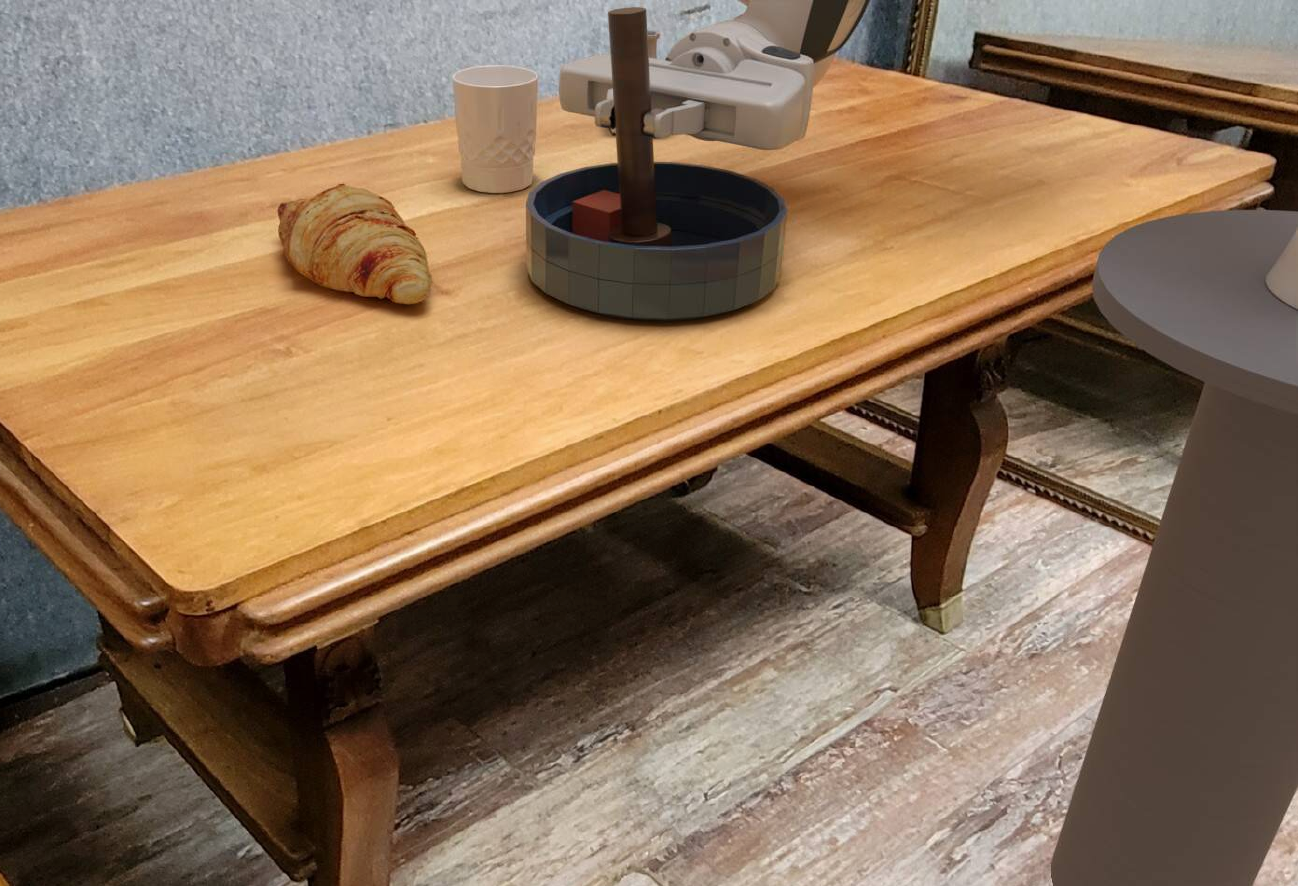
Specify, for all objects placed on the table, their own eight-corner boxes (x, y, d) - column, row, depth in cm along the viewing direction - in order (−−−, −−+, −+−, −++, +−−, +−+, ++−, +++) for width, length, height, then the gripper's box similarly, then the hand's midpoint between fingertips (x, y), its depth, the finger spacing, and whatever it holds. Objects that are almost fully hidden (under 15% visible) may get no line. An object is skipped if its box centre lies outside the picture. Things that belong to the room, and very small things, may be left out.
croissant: (458, 344, 97) (495, 247, 95) (356, 319, 89) (394, 214, 87) (317, 260, 110) (346, 174, 108) (218, 233, 103) (248, 140, 101)
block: (639, 246, 103) (641, 199, 101) (608, 260, 101) (609, 212, 99) (603, 235, 106) (604, 189, 103) (572, 248, 103) (572, 201, 101)
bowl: (821, 261, 102) (829, 190, 99) (700, 349, 88) (706, 270, 85) (614, 213, 112) (616, 147, 109) (477, 286, 98) (474, 212, 95)
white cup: (548, 173, 121) (548, 68, 116) (524, 199, 115) (523, 89, 110) (473, 166, 123) (469, 62, 118) (444, 191, 117) (439, 82, 111)
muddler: (683, 243, 99) (674, 4, 90) (649, 263, 96) (636, 17, 87) (632, 236, 102) (617, 4, 93) (597, 255, 99) (579, 16, 90)
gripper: (611, 27, 106) (515, 59, 97) (833, 60, 96) (750, 100, 87) (610, 101, 110) (517, 140, 100) (823, 141, 100) (742, 188, 90)
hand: (627, 122), depth 93 cm, fingers closed on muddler, 3 cm apart
